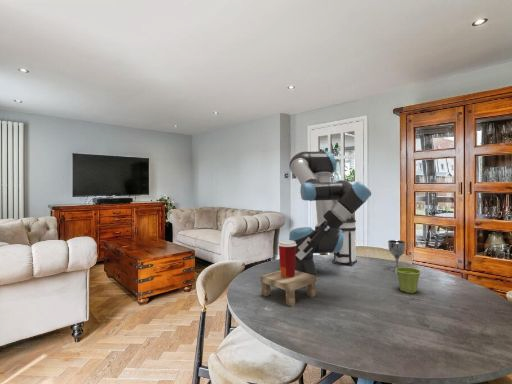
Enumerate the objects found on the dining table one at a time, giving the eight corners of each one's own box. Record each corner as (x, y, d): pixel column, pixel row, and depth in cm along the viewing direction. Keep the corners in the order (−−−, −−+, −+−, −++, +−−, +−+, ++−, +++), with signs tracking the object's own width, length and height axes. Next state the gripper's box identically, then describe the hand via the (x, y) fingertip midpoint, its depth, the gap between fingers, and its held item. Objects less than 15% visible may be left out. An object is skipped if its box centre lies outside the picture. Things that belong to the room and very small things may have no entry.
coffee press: (325, 260, 171) (325, 210, 171) (351, 259, 173) (350, 209, 172) (337, 268, 154) (336, 212, 153) (365, 267, 156) (364, 212, 155)
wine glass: (406, 269, 150) (405, 240, 150) (404, 273, 143) (404, 243, 143) (389, 267, 154) (389, 239, 154) (387, 271, 148) (387, 242, 148)
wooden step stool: (261, 295, 117) (260, 276, 117) (286, 285, 128) (286, 268, 128) (290, 306, 105) (290, 285, 105) (316, 295, 116) (316, 275, 116)
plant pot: (424, 295, 114) (424, 273, 114) (399, 294, 116) (399, 272, 116) (416, 287, 123) (416, 267, 123) (393, 286, 125) (392, 266, 125)
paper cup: (298, 273, 119) (298, 240, 119) (295, 279, 112) (294, 243, 112) (280, 272, 122) (280, 239, 122) (275, 277, 115) (275, 242, 114)
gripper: (347, 226, 99) (304, 268, 102) (341, 219, 123) (307, 253, 127) (331, 211, 100) (289, 253, 103) (328, 207, 124) (294, 241, 128)
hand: (299, 253), depth 115 cm, fingers open, 13 cm apart
